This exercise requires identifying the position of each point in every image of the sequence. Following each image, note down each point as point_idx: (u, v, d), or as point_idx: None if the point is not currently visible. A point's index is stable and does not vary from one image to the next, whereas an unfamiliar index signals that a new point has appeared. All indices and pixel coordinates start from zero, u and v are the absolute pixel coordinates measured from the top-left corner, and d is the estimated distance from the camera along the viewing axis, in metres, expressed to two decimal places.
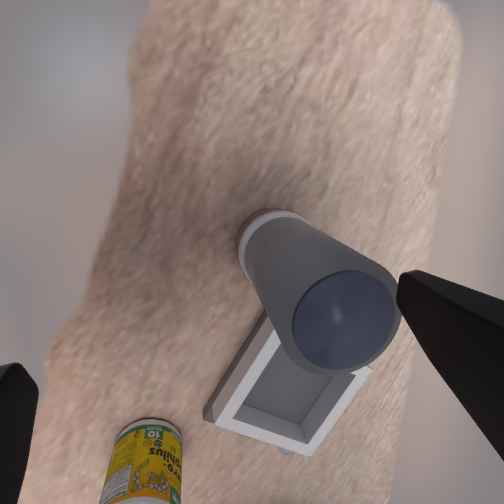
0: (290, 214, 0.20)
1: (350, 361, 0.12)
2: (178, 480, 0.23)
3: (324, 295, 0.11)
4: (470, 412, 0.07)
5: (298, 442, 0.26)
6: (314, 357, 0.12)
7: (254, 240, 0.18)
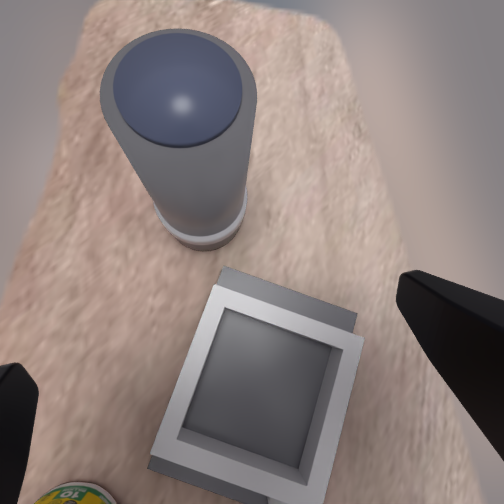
0: None
1: (197, 131, 0.10)
2: None
3: (143, 56, 0.10)
4: (470, 412, 0.07)
5: (290, 483, 0.16)
6: (146, 127, 0.10)
7: None
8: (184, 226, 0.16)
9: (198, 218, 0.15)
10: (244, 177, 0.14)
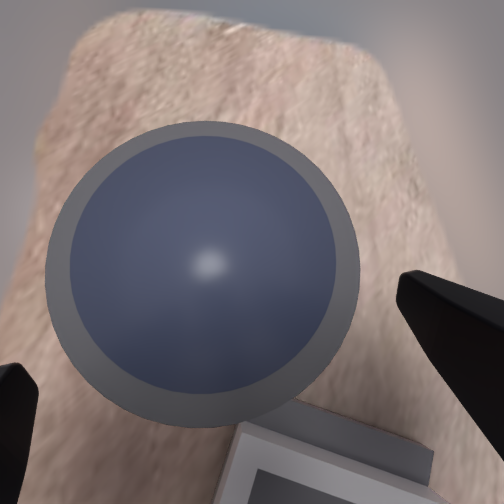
0: None
1: (250, 361, 0.05)
2: None
3: (134, 189, 0.05)
4: (470, 412, 0.07)
5: None
6: (139, 358, 0.04)
7: None
8: None
9: None
10: None
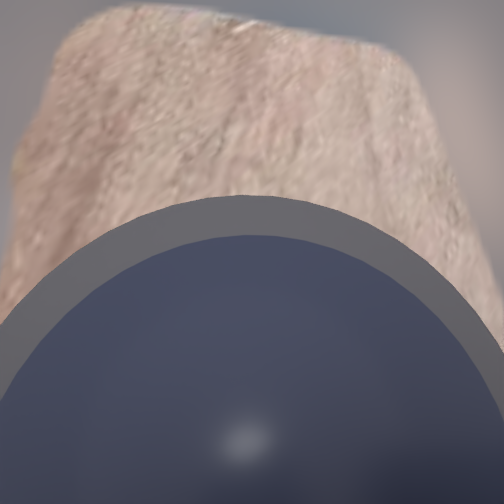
0: None
1: None
2: None
3: (105, 357, 0.02)
4: None
5: None
6: None
7: None
8: None
9: None
10: None
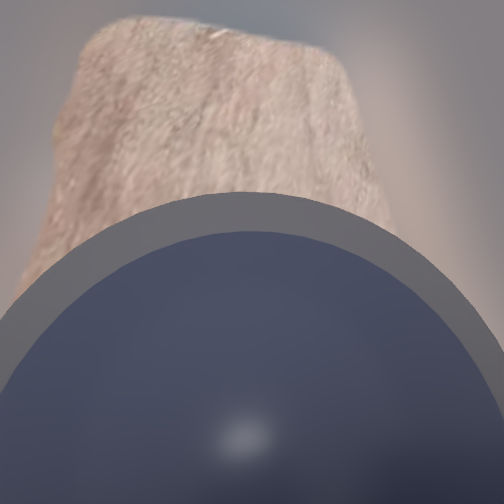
0: None
1: None
2: None
3: (104, 353, 0.02)
4: None
5: None
6: None
7: None
8: None
9: None
10: None
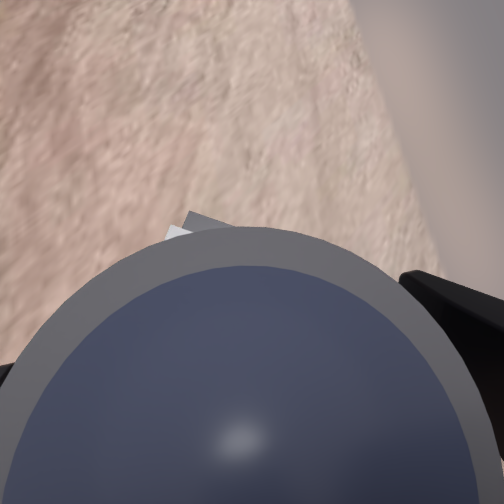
0: None
1: None
2: None
3: (120, 374, 0.03)
4: None
5: None
6: None
7: None
8: None
9: None
10: None
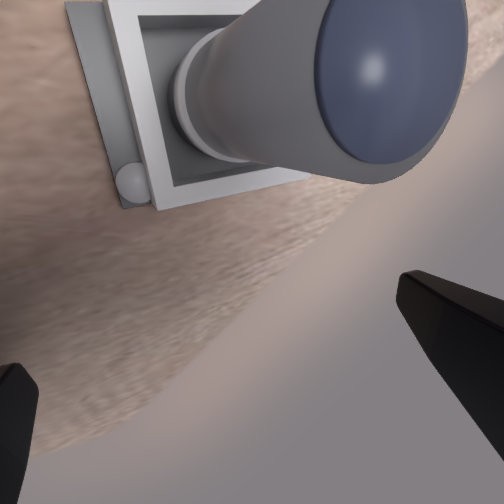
0: None
1: (352, 131, 0.07)
2: None
3: None
4: (470, 412, 0.07)
5: (167, 170, 0.15)
6: (334, 52, 0.06)
7: None
8: (197, 108, 0.12)
9: (218, 131, 0.11)
10: None
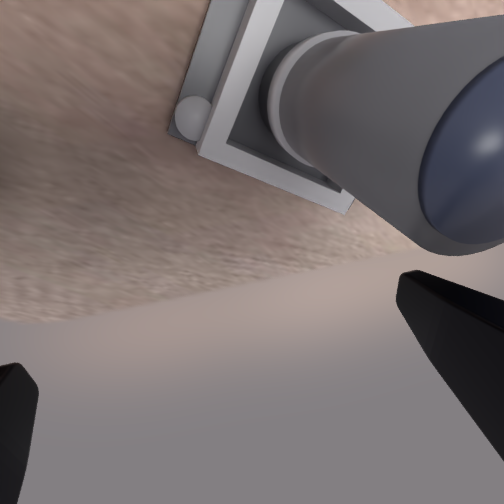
0: None
1: (440, 186, 0.06)
2: None
3: None
4: (470, 412, 0.07)
5: (230, 125, 0.15)
6: (476, 103, 0.06)
7: None
8: (297, 86, 0.12)
9: (304, 117, 0.11)
10: None
